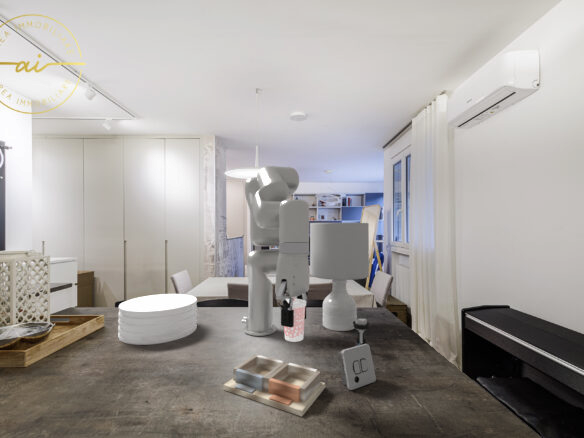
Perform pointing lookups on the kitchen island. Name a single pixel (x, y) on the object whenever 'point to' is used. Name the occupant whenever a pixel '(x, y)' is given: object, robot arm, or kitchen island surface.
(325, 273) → the lamp
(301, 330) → the beverage cup
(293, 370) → the socket board
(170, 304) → the plate stack
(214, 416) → the kitchen island surface
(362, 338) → the push button
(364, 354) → the electrical switch
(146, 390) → the kitchen island surface
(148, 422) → the kitchen island surface
